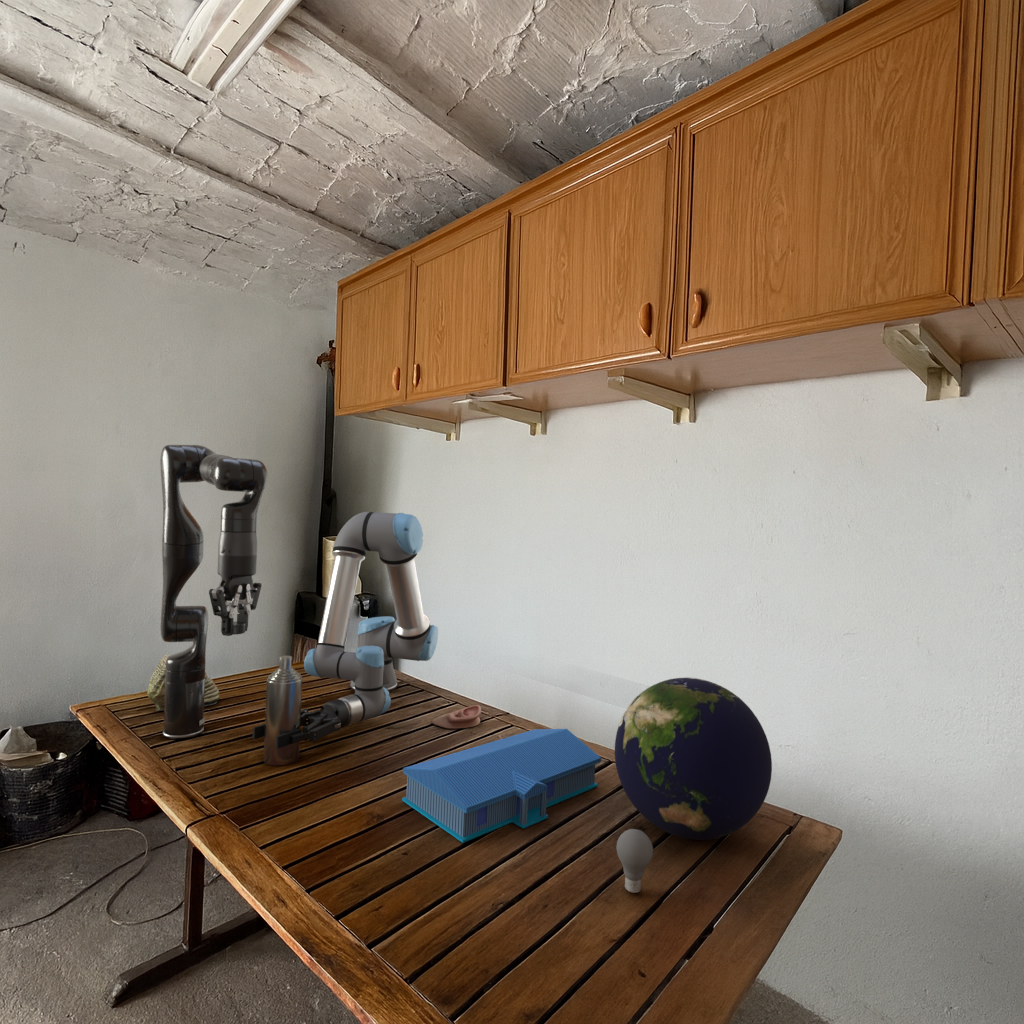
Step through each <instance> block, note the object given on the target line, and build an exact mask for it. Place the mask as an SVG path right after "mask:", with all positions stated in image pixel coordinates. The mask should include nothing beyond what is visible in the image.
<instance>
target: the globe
mask: <svg viewBox="0 0 1024 1024" xmlns="http://www.w3.org/2000/svg"><path fill="white" fill-rule="evenodd" d="M767 737H768V736H767V734H766V732H765V730H764V728H763V726H762V724H761V722H760V721H759V718H758V717H757V716H756V715H755V713H754V712H753V710H752V709H751V708H750V706H749V705H748V704H747V703H746V702H745V701H743V699H741V698H740V697H739V696H738V695H736V694H735V693H734V692H733V691H731V690H729V689H727V688H726V687H724V686H722V685H720V684H718V683H716V682H712V681H710V680H706V679H701V678H698V677H690V676H689V677H675V678H669V679H666V680H663V681H660V682H657V683H655V684H653V685H651V686H649V687H647V688H646V689H645V690H643V691H642V692H640V693H639V694H638V695H637V696H636V697H635V698H634V699H632V701H631V702H630V704H628V706H627V708H626V710H624V713H623V714H622V716H621V719H620V720H619V723H618V726H617V730H616V734H615V741H614V762H615V768H616V772H617V776H618V779H619V782H620V784H621V786H622V788H623V791H624V793H625V795H626V796H627V798H628V799H629V801H630V802H631V805H633V807H634V808H635V809H636V811H638V812H639V813H640V815H642V817H644V818H645V819H646V820H647V821H648V822H649V823H651V824H652V825H654V826H655V827H656V828H658V829H660V830H662V831H664V832H666V833H668V834H670V835H673V836H674V837H679V838H682V839H687V840H695V841H709V840H716V839H720V838H722V837H726V836H728V835H731V834H733V833H735V832H737V831H739V830H740V829H742V828H743V827H744V826H745V825H747V824H748V823H749V822H750V821H751V820H752V819H753V818H754V816H756V815H757V813H758V812H759V811H760V809H761V807H762V806H763V804H764V802H765V800H766V798H767V795H768V793H769V790H770V786H771V781H772V774H773V762H772V760H773V759H772V752H771V748H770V744H769V740H768V738H767Z"/></svg>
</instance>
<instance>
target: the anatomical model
mask: <svg viewBox="0 0 1024 1024" xmlns="http://www.w3.org/2000/svg"><path fill="white" fill-rule="evenodd" d="M481 714H482V707H481V706H480V705H478V704H475V705H471V706H467V707H463V708H460V709H457V710H454V711H452V712H448V713H445V714H442V715H439V716H437V717H435V718H434V719H432V720H431V723H432V725H435V726H438V727H441V728H445V729H466V728H467V729H468V728H472V727H476V726H478V725H480V724H481V718H480V716H481Z"/></svg>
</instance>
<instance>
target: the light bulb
mask: <svg viewBox="0 0 1024 1024" xmlns="http://www.w3.org/2000/svg"><path fill="white" fill-rule="evenodd" d="M615 849H616V854H617V857H618V859H619V861H620V863H621V865H622V867H623V873H624V874H623V875H624V876H625V878H624V888H625V890H627V891H628V892H630V893H634V894H635V893H639V892H640V891H641V889H642V887H641V886H642V879H643V877H644V875H645V871H646V868H647V867H648V866H649V864H650V863H651V861H652V859H653V855H654V847H653V843H652V841H651V838H649V836H648V835H647V834H646V833H645V832H643V831H642V830H641V829H636V828H629V829H627V830H625V831H623V832H622V833H621V834H620V835H619V837H618V839H617V841H616V847H615Z"/></svg>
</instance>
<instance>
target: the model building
mask: <svg viewBox="0 0 1024 1024" xmlns="http://www.w3.org/2000/svg"><path fill="white" fill-rule="evenodd" d="M601 762H602V757H601V756H600V755H599V754H597V752H595V751H594V750H593V749H591V748H590V747H589V746H588V745H586V744H585V743H584V742H583V741H582V740H581V739H579V737H577V736H576V735H575V734H574V733H572V731H570V730H569V729H568V728H536V729H535V728H534V729H531V730H528V731H524V732H521V733H517V734H514V735H510V736H507V737H504V738H501V739H497V740H494V741H490V742H487V743H484V744H480V745H477V746H473V747H470V748H467V749H464V750H460V751H457V752H453V753H450V754H447V755H443V756H439V757H437V758H432V759H430V760H426V761H423V762H419V763H417V764H413V765H409V766H406V767H403V768H402V774H403V775H406V796H404V797H402V798H401V801H402V802H403V803H405V804H406V805H408V806H409V807H411V808H412V809H413V810H415V811H417V812H418V813H419V814H420V815H422V816H423V817H424V818H427V819H428V820H429V821H431V822H432V823H433V824H435V825H436V826H438V827H439V828H441V829H442V830H443V831H445V832H446V833H448V834H449V835H451V836H452V837H453V838H455V839H456V840H458V841H459V842H461V843H462V844H464V843H466V842H469V841H471V840H474V839H476V838H478V837H480V836H482V835H485V834H488V833H490V832H493V831H495V830H497V829H499V828H502V827H504V826H507V825H509V824H511V823H513V824H515V825H516V826H517V827H519V828H521V829H526V828H529V827H530V826H533V825H535V824H537V823H540V822H542V821H544V820H546V819H549V814H547V808H549V807H552V806H554V805H557V804H559V803H561V802H564V801H567V800H569V799H571V798H573V797H575V796H578V795H580V794H583V793H585V792H587V791H590V790H593V789H594V788H597V787H599V784H598V783H597V782H596V781H595V778H596V765H598V764H600V763H601Z"/></svg>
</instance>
